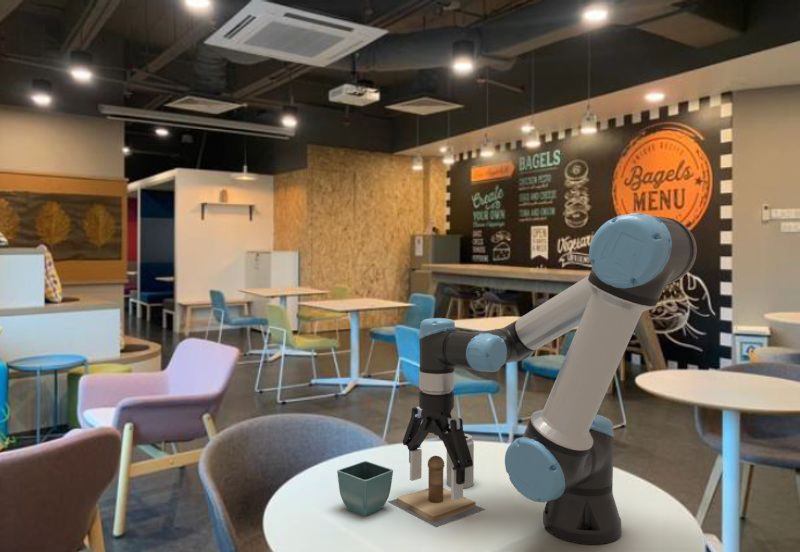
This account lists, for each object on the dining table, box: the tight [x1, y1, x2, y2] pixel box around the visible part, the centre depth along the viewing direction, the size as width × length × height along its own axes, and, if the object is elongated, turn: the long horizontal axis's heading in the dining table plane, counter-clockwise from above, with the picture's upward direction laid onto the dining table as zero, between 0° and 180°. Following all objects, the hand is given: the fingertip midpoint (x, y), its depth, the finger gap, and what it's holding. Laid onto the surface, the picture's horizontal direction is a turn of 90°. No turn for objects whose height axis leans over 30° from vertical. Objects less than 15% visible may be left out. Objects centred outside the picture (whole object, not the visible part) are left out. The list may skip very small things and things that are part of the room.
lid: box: [396, 455, 476, 522], centre depth 131 cm, size 12×12×11 cm
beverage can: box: [446, 433, 475, 490], centre depth 144 cm, size 6×6×12 cm
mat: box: [387, 498, 486, 528], centre depth 132 cm, size 16×14×1 cm
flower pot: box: [336, 460, 394, 517], centre depth 130 cm, size 9×9×9 cm
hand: (435, 488), depth 132 cm, fingers open, 13 cm apart
